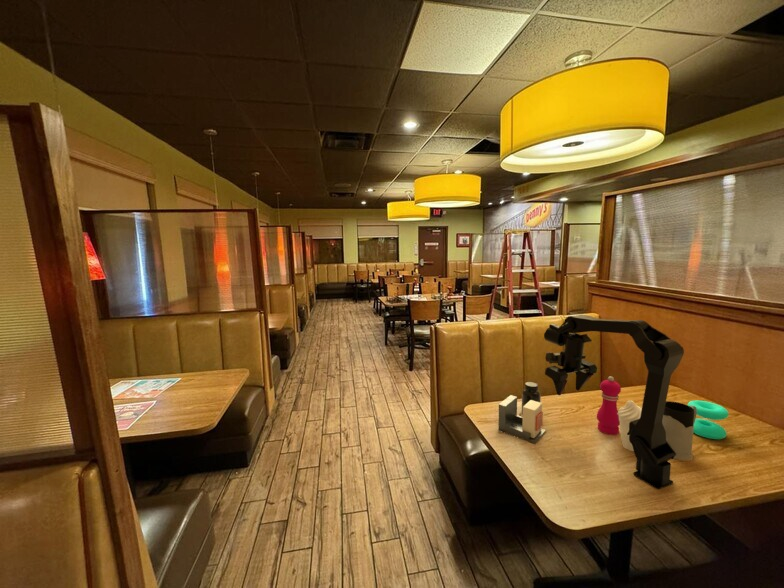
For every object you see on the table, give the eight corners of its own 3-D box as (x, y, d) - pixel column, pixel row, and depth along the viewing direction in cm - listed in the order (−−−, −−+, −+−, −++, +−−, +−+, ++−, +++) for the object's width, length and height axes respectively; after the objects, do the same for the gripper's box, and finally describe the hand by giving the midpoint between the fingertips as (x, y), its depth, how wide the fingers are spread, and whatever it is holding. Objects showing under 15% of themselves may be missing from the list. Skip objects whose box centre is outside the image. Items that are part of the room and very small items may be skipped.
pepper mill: (624, 436, 108) (628, 381, 106) (601, 435, 109) (604, 380, 107) (614, 425, 115) (617, 373, 113) (592, 424, 116) (595, 372, 114)
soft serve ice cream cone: (645, 444, 103) (648, 398, 101) (650, 459, 96) (653, 409, 94) (614, 437, 108) (616, 393, 106) (616, 451, 100) (619, 403, 99)
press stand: (545, 432, 112) (546, 405, 111) (535, 444, 105) (536, 416, 104) (510, 419, 121) (510, 395, 120) (498, 430, 114) (498, 404, 113)
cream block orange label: (543, 430, 111) (544, 403, 110) (535, 439, 106) (536, 411, 105) (530, 425, 114) (530, 399, 113) (522, 433, 110) (522, 406, 108)
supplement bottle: (521, 407, 130) (521, 380, 129) (539, 410, 128) (540, 381, 127) (521, 415, 124) (522, 386, 123) (540, 418, 122) (541, 388, 120)
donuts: (734, 407, 106) (721, 415, 101) (731, 435, 107) (719, 444, 102) (695, 396, 115) (682, 403, 110) (692, 422, 116) (680, 429, 111)
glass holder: (649, 447, 102) (652, 403, 100) (676, 437, 107) (679, 395, 105) (682, 463, 94) (686, 416, 92) (709, 451, 99) (714, 406, 97)
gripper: (571, 339, 119) (567, 378, 122) (534, 346, 112) (530, 386, 115) (600, 350, 109) (594, 391, 112) (561, 358, 102) (556, 402, 105)
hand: (568, 392), depth 111 cm, fingers open, 9 cm apart
